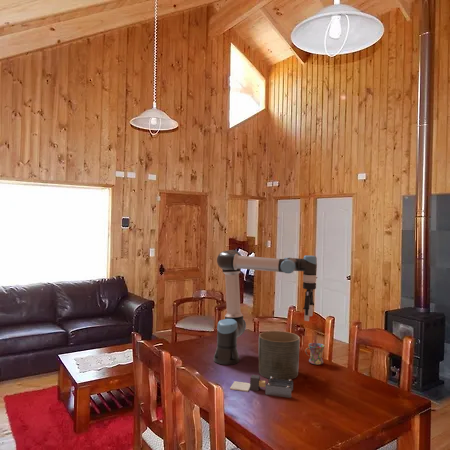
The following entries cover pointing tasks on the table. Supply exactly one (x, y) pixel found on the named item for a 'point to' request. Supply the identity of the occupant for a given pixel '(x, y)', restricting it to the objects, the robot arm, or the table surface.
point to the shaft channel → (279, 387)
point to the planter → (278, 354)
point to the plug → (256, 382)
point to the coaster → (240, 386)
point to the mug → (315, 353)
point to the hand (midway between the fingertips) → (308, 318)
